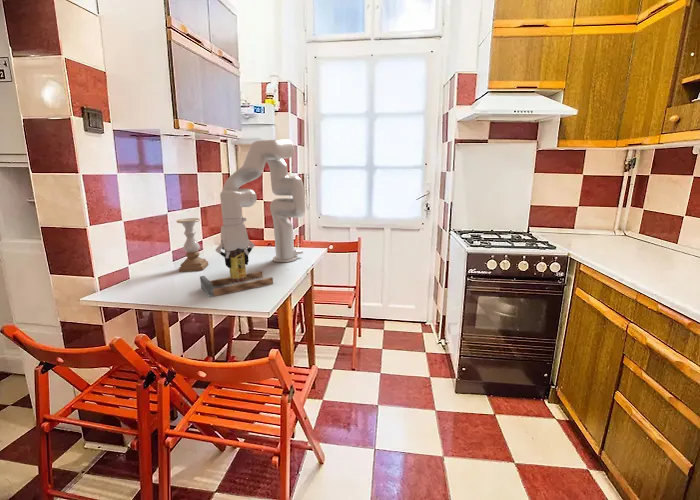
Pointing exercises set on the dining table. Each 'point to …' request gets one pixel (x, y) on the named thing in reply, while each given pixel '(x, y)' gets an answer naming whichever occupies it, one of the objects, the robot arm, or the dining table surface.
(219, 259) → the dining table surface
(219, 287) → the wooden u-shaped frame
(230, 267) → the robot arm
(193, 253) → the candle holder
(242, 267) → the sauce bottle
